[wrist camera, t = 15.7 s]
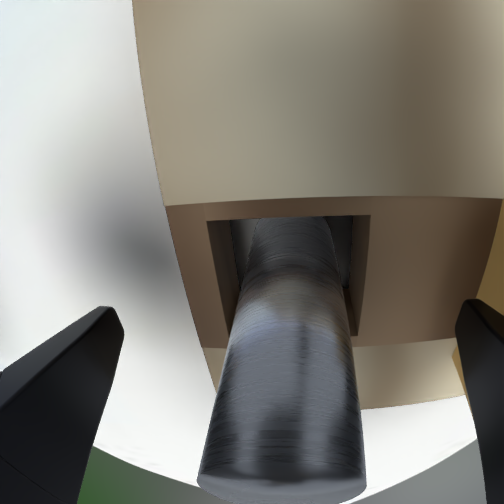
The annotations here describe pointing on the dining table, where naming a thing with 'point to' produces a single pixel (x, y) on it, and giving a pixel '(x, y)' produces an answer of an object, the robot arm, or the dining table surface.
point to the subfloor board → (335, 159)
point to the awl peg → (287, 378)
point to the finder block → (490, 285)
